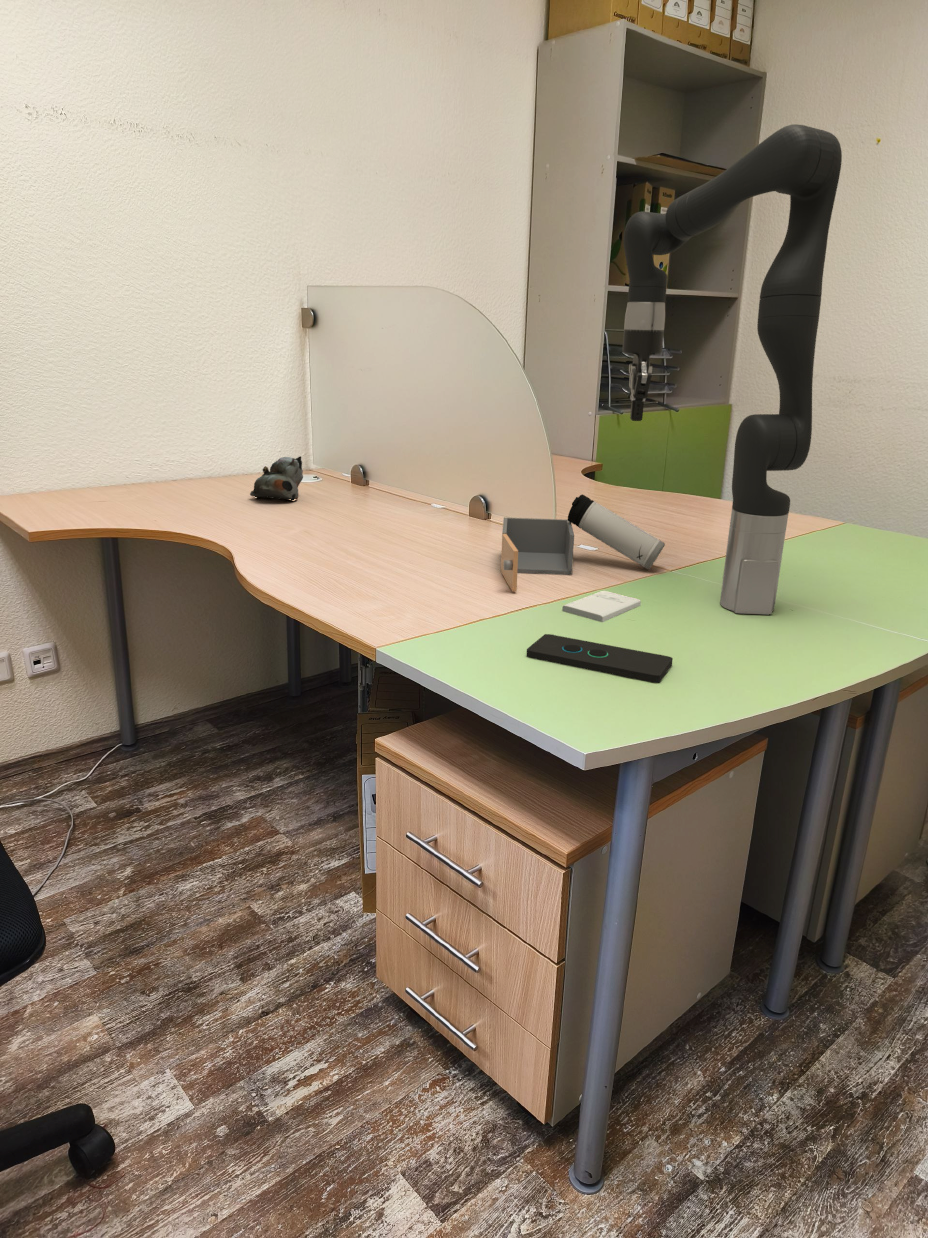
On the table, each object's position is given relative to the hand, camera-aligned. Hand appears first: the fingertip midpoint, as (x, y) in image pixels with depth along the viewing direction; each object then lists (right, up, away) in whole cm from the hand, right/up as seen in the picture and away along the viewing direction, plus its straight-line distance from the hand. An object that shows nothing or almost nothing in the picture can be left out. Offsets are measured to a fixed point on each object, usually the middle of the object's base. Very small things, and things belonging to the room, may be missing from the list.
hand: (636, 420), depth 165 cm
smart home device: (-14, -46, -43) cm, 64 cm away
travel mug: (+5, -27, +3) cm, 27 cm away
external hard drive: (-10, -38, -20) cm, 44 cm away
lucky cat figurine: (-85, -7, +64) cm, 107 cm away
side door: (-26, -32, -7) cm, 42 cm away
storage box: (-19, -28, +6) cm, 35 cm away
